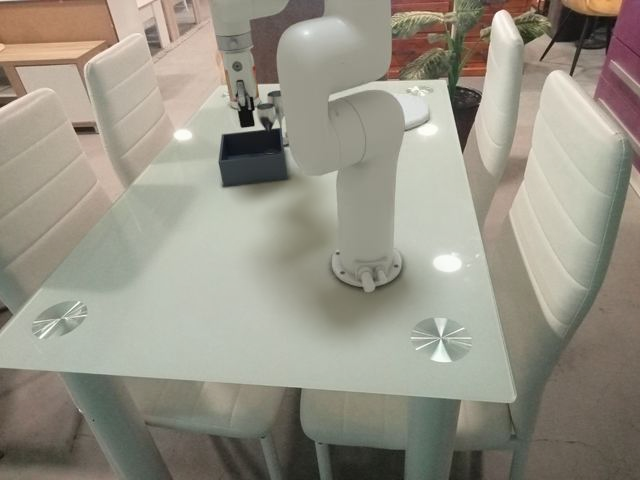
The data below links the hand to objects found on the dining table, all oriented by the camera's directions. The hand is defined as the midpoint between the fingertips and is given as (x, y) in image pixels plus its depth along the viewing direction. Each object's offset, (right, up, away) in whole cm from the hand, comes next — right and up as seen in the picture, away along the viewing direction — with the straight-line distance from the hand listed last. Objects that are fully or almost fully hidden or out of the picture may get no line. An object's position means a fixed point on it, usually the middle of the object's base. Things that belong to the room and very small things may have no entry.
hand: (248, 118), depth 111 cm
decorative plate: (+36, +8, +29) cm, 46 cm away
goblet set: (+9, +2, +22) cm, 24 cm away
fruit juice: (-7, +15, +43) cm, 46 cm away
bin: (+1, -10, +8) cm, 13 cm away
